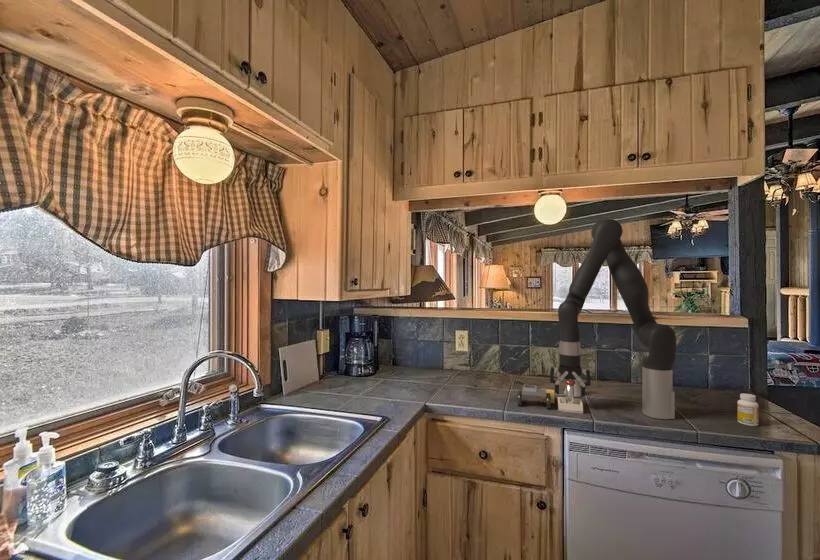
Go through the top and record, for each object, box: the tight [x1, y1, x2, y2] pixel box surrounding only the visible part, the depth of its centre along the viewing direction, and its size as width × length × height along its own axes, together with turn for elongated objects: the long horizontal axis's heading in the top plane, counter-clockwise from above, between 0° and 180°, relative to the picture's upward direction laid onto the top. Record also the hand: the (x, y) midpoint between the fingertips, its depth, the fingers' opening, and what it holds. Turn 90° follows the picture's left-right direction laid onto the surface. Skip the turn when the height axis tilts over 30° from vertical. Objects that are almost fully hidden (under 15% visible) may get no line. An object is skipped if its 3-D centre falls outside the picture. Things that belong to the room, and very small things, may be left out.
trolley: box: [517, 384, 552, 410], centre depth 149 cm, size 12×8×7 cm, turn 71°
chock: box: [540, 388, 555, 405], centre depth 154 cm, size 5×4×4 cm
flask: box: [563, 379, 581, 398], centre depth 162 cm, size 7×7×10 cm
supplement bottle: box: [736, 393, 760, 427], centre depth 130 cm, size 5×5×10 cm
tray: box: [557, 396, 584, 414], centre depth 144 cm, size 8×8×3 cm
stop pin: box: [564, 379, 575, 404], centre depth 144 cm, size 4×4×10 cm
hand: (569, 395), depth 145 cm, fingers open, 8 cm apart
